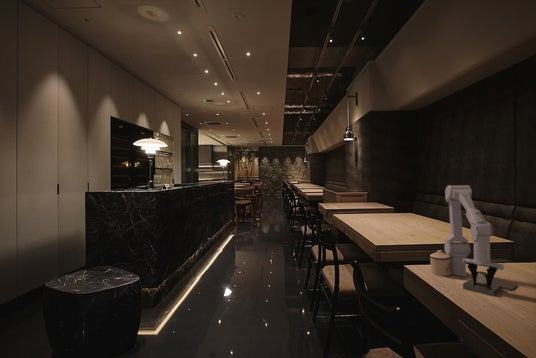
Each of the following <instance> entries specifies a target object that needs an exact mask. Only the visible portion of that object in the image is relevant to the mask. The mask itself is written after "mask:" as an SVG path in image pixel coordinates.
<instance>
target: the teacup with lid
mask: <svg viewBox="0 0 536 358" xmlns="http://www.w3.org/2000/svg"><path fill="white" fill-rule="evenodd" d="M450 258H451V257H450V255H448V254H447V253H446V252H443V251H442V250H441V249H438V250H437V251H436V252H434V253H431V254H430V255H429V259H430V271H431V274H433V275H434V276H437V277H450V276H451V275H452V274H451V263H450Z"/></svg>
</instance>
